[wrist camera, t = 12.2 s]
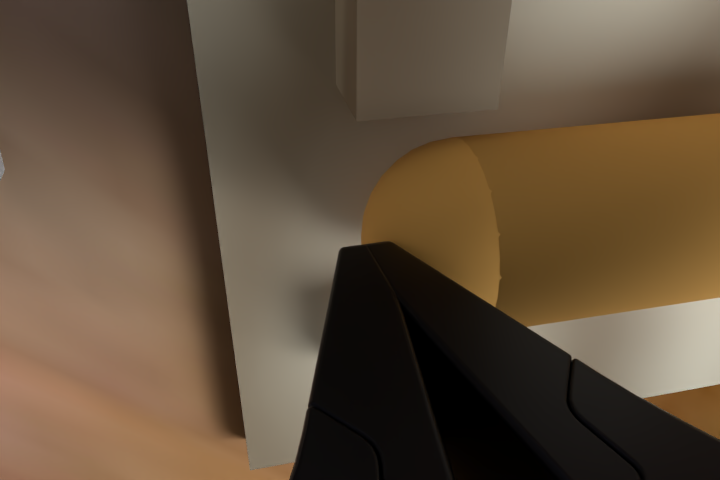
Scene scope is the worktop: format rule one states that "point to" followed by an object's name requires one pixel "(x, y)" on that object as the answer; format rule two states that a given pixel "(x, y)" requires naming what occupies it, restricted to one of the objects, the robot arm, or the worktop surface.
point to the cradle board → (408, 131)
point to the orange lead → (563, 215)
